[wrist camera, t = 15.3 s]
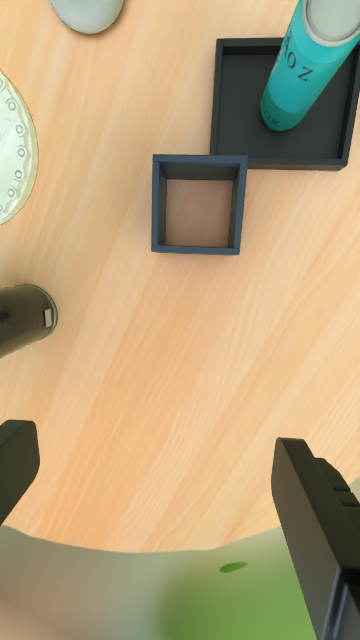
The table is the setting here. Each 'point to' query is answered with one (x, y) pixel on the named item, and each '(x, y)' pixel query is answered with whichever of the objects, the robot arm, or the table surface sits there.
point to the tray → (246, 119)
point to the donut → (87, 13)
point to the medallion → (15, 151)
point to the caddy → (197, 170)
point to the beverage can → (309, 58)
